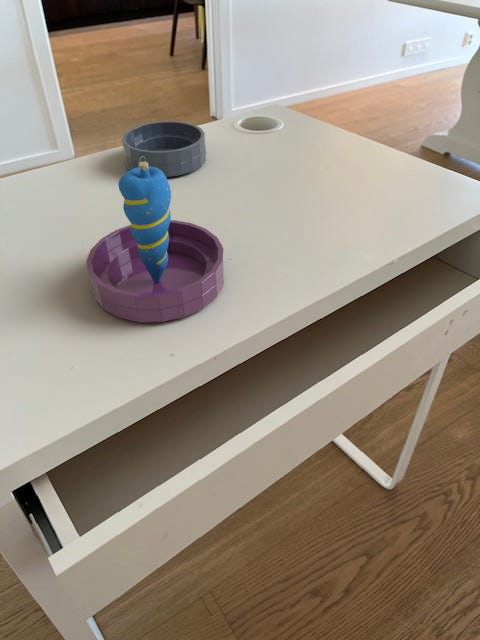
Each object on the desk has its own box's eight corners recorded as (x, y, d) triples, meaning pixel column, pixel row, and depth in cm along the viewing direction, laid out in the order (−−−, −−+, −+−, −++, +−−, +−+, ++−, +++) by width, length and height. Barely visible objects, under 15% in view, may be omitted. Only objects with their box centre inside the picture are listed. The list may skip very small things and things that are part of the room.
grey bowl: (112, 174, 82) (107, 146, 79) (147, 143, 92) (144, 117, 89) (188, 184, 79) (185, 156, 76) (217, 151, 89) (215, 125, 86)
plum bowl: (68, 310, 57) (59, 281, 54) (131, 239, 67) (126, 212, 65) (196, 337, 53) (193, 308, 50) (240, 258, 64) (240, 230, 61)
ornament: (126, 284, 59) (102, 160, 49) (156, 263, 62) (139, 142, 52) (160, 300, 57) (141, 173, 47) (189, 277, 60) (177, 154, 50)
